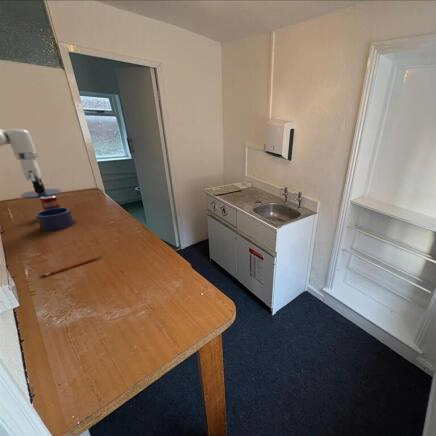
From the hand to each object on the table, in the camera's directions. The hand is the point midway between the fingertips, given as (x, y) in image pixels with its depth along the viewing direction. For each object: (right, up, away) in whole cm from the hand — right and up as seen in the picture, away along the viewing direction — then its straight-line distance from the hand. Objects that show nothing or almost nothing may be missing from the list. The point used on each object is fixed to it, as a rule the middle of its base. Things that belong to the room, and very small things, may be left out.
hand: (40, 191), depth 122 cm
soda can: (-18, -12, +25) cm, 33 cm away
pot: (-3, -19, +12) cm, 22 cm away
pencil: (+38, -36, -22) cm, 57 cm away
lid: (0, -1, +1) cm, 2 cm away
